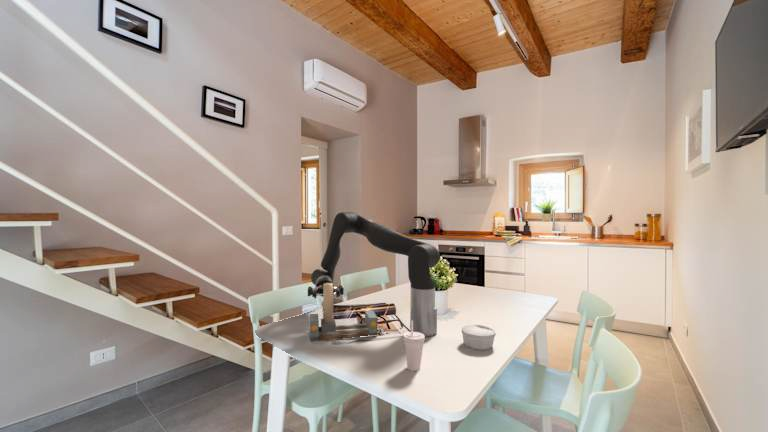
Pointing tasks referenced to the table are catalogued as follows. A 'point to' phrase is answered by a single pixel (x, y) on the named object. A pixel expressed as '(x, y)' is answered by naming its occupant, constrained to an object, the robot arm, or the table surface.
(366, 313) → the pair of sage blocks
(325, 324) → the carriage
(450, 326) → the table surface
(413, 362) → the smoothie
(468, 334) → the ramekin
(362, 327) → the rail bed
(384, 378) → the table surface
